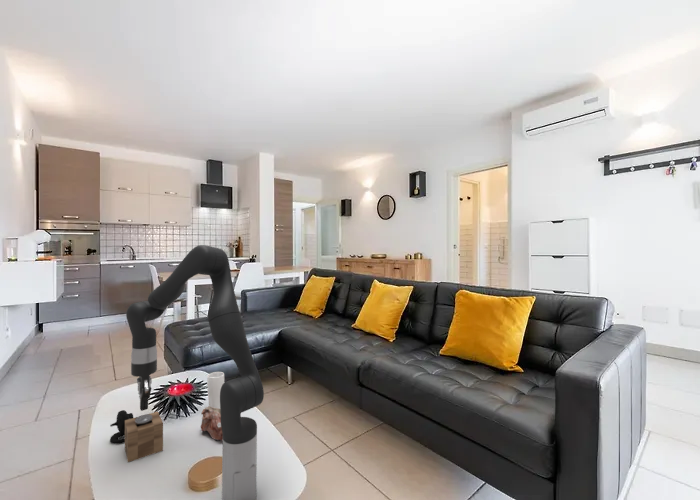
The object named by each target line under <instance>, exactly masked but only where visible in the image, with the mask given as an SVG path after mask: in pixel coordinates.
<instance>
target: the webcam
mask: <svg viewBox="0 0 700 500" xmlns="http://www.w3.org/2000/svg"><path fill="white" fill-rule="evenodd" d="M132 418H134V414H133V412H130V413H129V412H128V413H127V411H126V410H119V411H118V412H117V414H116V420H115V422H113V423H110V427H114V426H116V429H117V430H118V432H116V433H113V435H111V436H110V438H109V441H110V443H111V444H113V445H119V444H120V445H121V444H125V420H128V419H132ZM122 437H123V438H122Z"/></svg>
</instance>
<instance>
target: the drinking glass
mask: <svg viewBox="0 0 700 500" xmlns="http://www.w3.org/2000/svg"><path fill="white" fill-rule="evenodd" d="M206 379H207V380H206V381H207V382H206V384H207V385H206V387H207V396H208V398H207V399H208V406H210V407H213V408H218V409H220V390H221V387H222V385H223V383H225V373H224V372H222V371H214V372H210V373H209V374H207V378H206Z"/></svg>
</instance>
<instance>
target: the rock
mask: <svg viewBox="0 0 700 500" xmlns="http://www.w3.org/2000/svg"><path fill="white" fill-rule="evenodd" d="M201 415H202V417H201V425H200V430H201V432H207V433H209V435H210V436H211V437H210V438H212V439H213V440H218V441H223V433H222V427H221V412H220V409H218V408H213V407H210V406H209V405H208V406H206V407H204V409H202V411H201Z"/></svg>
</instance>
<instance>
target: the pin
mask: <svg viewBox="0 0 700 500" xmlns="http://www.w3.org/2000/svg"><path fill="white" fill-rule="evenodd" d="M136 417H137V418H136ZM136 417H135V418H136V419H135V424H136V425H139V426H142V425H145V424H149V423H150V422H151V421H152V415H150V413H148V414H147V413H146V414H142V415H139V416H136Z"/></svg>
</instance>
